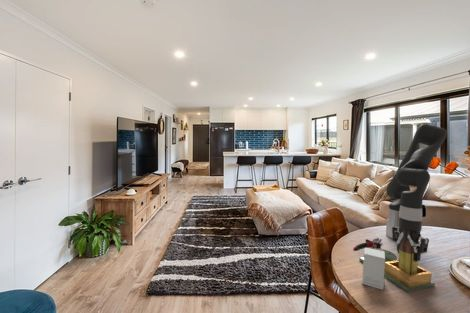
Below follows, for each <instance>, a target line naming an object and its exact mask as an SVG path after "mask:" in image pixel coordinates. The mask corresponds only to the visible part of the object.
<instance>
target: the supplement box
mask: <svg viewBox="0 0 470 313" xmlns="http://www.w3.org/2000/svg"><path fill="white" fill-rule="evenodd" d="M363 257H364V261H363V263H362V264H363V265H362V278H361V279H362V280H361V281H362V285H366V286H369V287H372V288H374V289H379V290H382V291H383V290H384V284H385V282H384V281H385V277H384V269H385V252H384V251H380V250H375V249H372V248H370V247H364V252H363Z"/></svg>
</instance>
